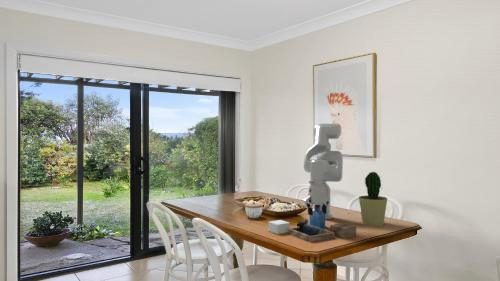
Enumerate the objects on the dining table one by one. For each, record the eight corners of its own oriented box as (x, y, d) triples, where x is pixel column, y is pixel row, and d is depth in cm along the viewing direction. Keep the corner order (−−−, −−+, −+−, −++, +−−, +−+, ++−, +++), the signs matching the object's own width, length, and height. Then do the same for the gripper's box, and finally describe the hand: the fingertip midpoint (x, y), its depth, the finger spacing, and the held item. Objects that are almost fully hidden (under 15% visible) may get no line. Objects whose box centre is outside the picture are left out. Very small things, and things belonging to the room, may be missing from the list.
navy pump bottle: (297, 236, 186) (316, 242, 178) (295, 222, 185) (315, 227, 176) (307, 230, 192) (327, 235, 184) (306, 216, 191) (326, 221, 182)
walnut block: (330, 235, 183) (330, 225, 183) (341, 232, 189) (341, 222, 189) (345, 239, 176) (345, 228, 176) (356, 235, 182) (356, 225, 182)
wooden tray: (288, 233, 187) (288, 228, 187) (311, 229, 194) (311, 225, 194) (310, 242, 171) (310, 236, 171) (334, 237, 178) (334, 232, 178)
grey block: (268, 231, 192) (268, 221, 192) (280, 229, 197) (280, 219, 197) (277, 234, 186) (277, 224, 186) (289, 232, 190) (289, 222, 190)
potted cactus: (374, 219, 218) (374, 169, 218) (393, 225, 204) (393, 171, 203) (353, 221, 212) (353, 170, 212) (371, 227, 198) (370, 172, 198)
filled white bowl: (252, 219, 219) (252, 204, 219) (241, 216, 227) (241, 201, 227) (266, 217, 226) (266, 202, 226) (254, 214, 234) (254, 199, 234)
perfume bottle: (315, 224, 206) (315, 203, 205) (325, 226, 202) (325, 204, 202) (309, 226, 201) (309, 205, 201) (319, 228, 197) (319, 206, 197)
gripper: (309, 184, 193) (308, 216, 193) (334, 182, 202) (333, 214, 201) (300, 182, 200) (300, 214, 199) (324, 181, 208) (324, 212, 208)
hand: (317, 214), depth 200 cm, fingers open, 9 cm apart
